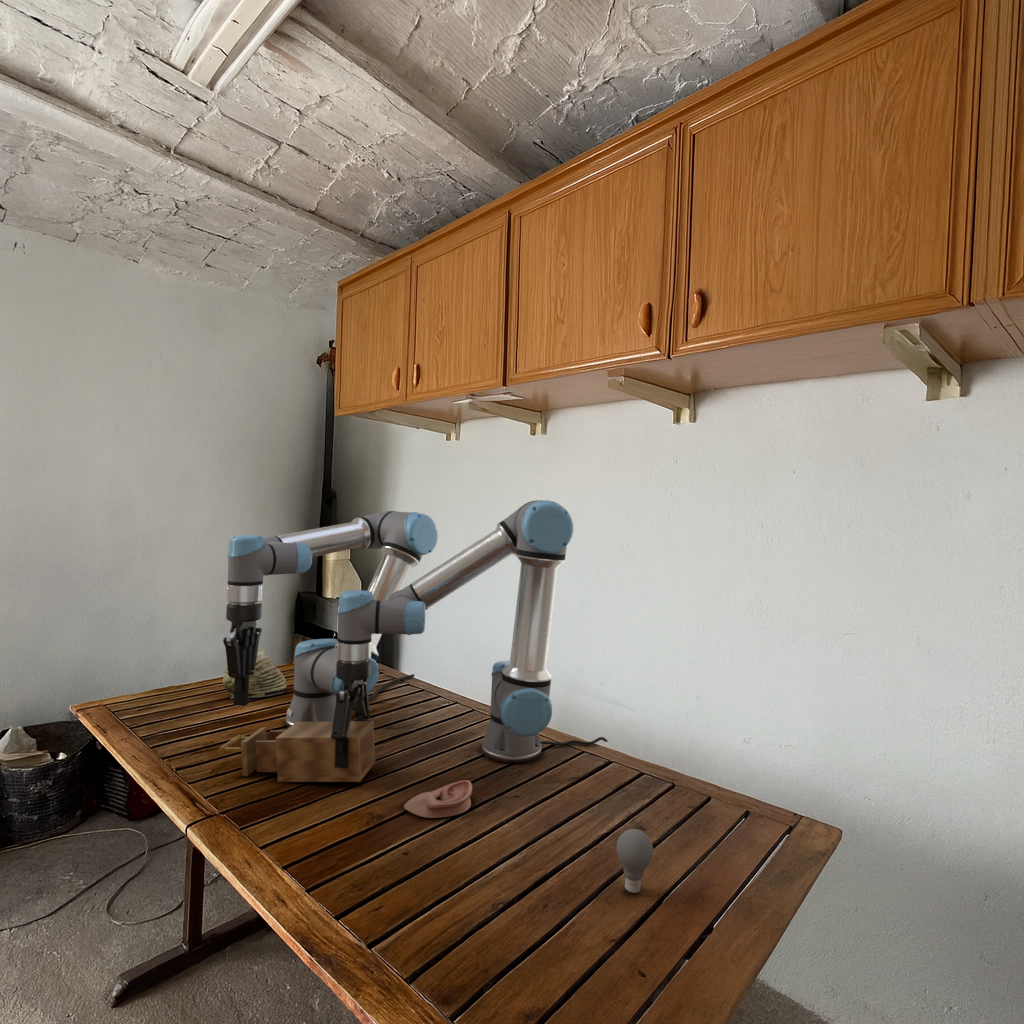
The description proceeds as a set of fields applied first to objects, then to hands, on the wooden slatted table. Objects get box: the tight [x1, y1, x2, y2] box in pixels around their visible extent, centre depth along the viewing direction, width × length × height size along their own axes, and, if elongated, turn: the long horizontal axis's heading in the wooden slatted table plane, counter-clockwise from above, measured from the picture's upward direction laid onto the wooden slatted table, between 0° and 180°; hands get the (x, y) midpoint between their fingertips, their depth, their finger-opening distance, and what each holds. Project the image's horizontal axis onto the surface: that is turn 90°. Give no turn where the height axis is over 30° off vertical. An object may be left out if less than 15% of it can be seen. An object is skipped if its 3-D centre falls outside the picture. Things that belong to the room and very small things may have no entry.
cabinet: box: [276, 720, 376, 783], centre depth 144 cm, size 19×10×10 cm, turn 84°
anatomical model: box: [403, 779, 473, 819], centre depth 132 cm, size 13×4×12 cm
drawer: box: [218, 726, 286, 777], centre depth 145 cm, size 23×9×8 cm, turn 84°
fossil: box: [222, 647, 288, 699], centre depth 198 cm, size 9×18×15 cm, turn 132°
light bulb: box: [615, 828, 654, 894], centre depth 106 cm, size 6×6×10 cm
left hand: (240, 704), depth 146 cm, fingers closed
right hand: (350, 757), depth 143 cm, fingers closed on cabinet, 10 cm apart
